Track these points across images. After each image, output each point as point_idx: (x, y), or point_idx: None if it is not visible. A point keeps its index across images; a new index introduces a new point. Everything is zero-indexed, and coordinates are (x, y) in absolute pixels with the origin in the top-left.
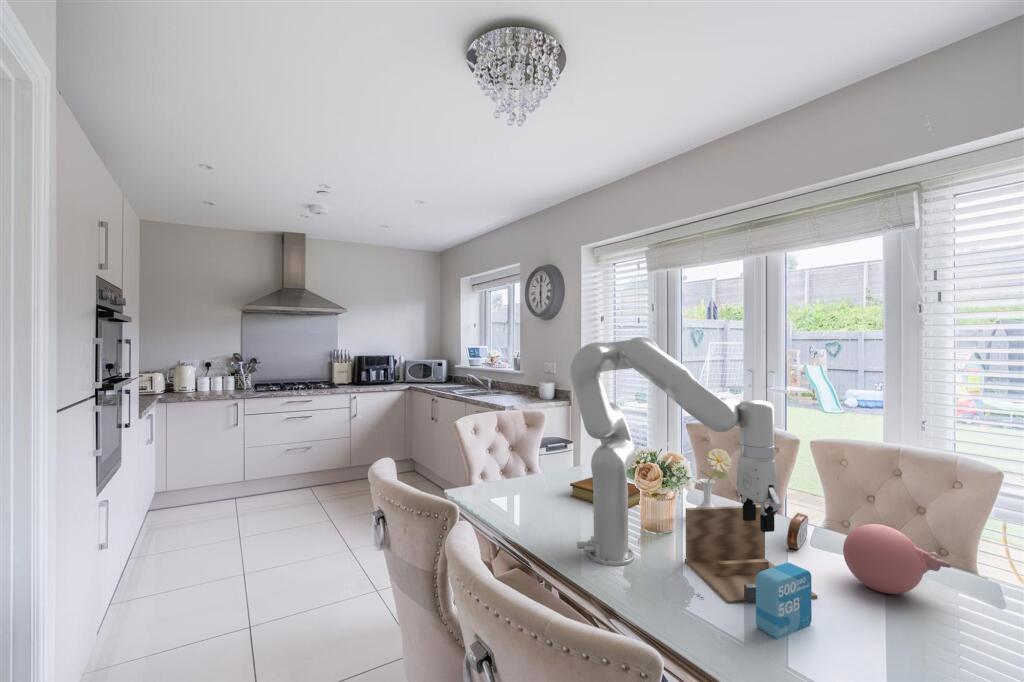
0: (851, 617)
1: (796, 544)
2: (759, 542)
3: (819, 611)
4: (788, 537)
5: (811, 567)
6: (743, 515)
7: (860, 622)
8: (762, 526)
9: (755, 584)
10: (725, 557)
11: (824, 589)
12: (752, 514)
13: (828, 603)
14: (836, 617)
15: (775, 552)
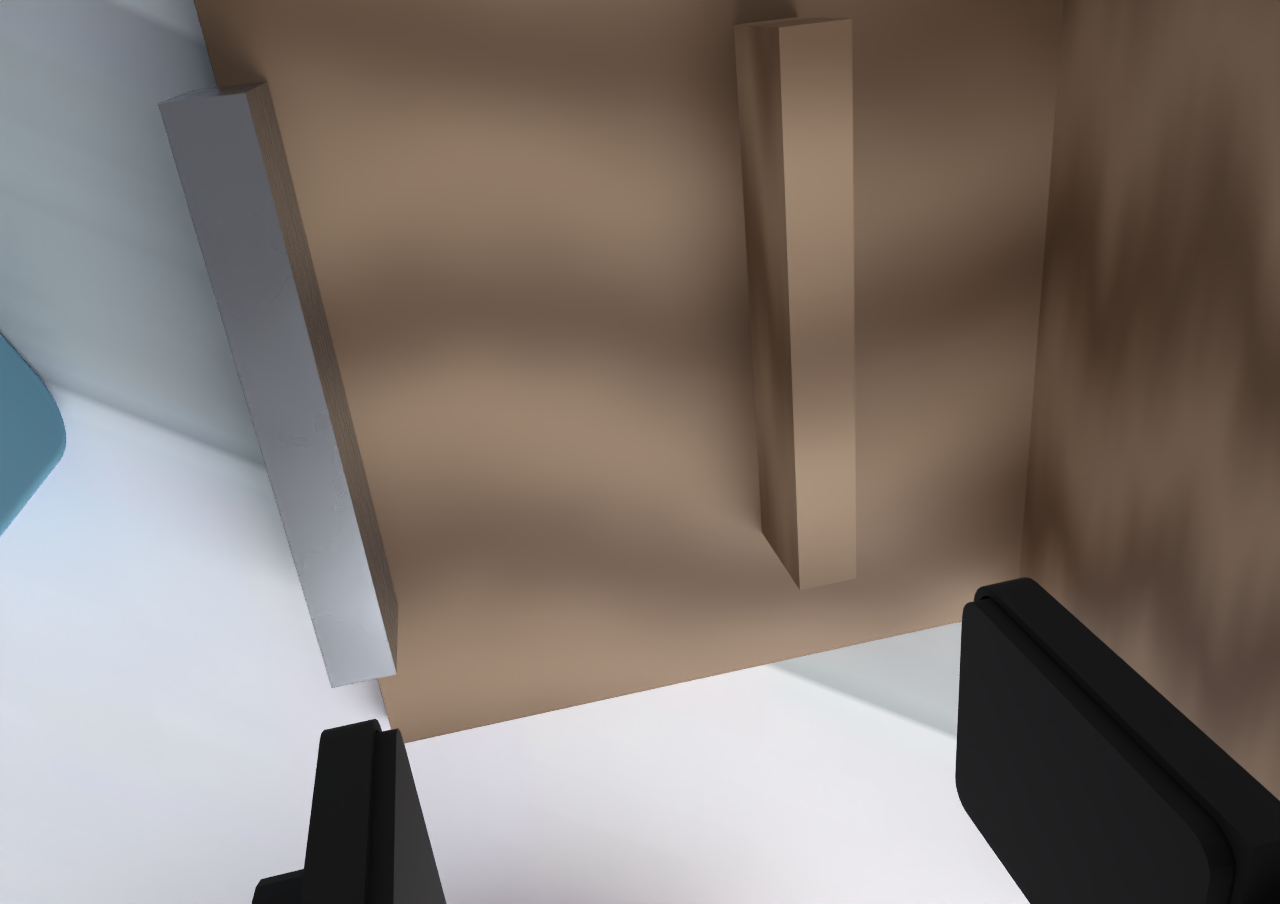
0: (157, 833)
1: None
2: (1112, 649)
3: (207, 667)
4: None
5: (875, 856)
6: (1063, 639)
7: (93, 858)
8: (312, 826)
9: (267, 239)
10: (1061, 248)
11: (560, 820)
12: (1026, 831)
13: None
14: (133, 743)
15: None
